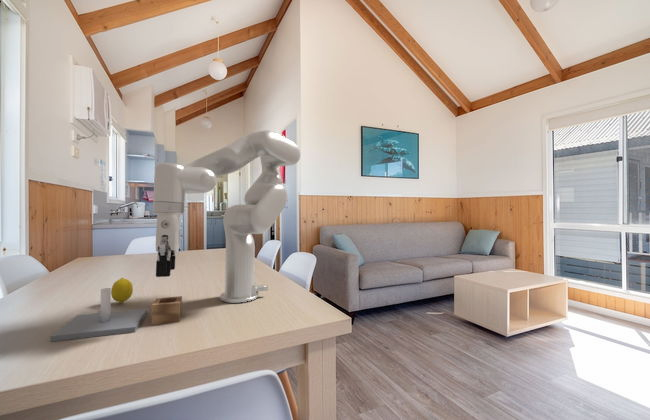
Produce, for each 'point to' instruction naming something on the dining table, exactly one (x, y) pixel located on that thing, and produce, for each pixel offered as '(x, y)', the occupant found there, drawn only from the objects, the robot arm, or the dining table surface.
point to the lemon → (122, 290)
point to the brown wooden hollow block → (166, 310)
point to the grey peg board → (101, 322)
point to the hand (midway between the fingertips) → (165, 272)
